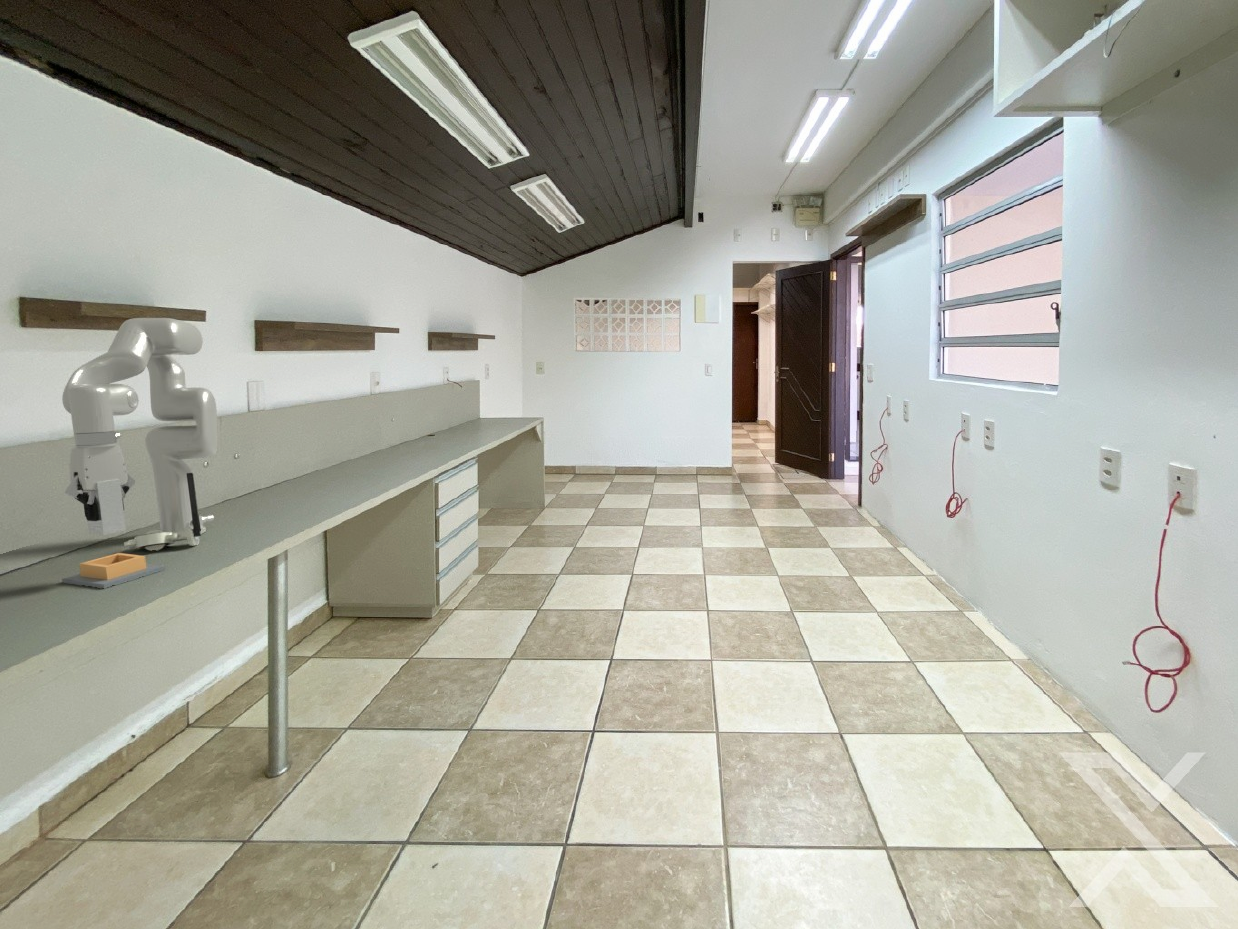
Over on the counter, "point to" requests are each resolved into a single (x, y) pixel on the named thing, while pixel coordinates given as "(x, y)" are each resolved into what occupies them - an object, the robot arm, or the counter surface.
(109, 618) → the counter surface
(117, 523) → the block
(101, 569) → the collar plate
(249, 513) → the counter surface
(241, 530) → the counter surface
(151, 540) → the butterfly valve
